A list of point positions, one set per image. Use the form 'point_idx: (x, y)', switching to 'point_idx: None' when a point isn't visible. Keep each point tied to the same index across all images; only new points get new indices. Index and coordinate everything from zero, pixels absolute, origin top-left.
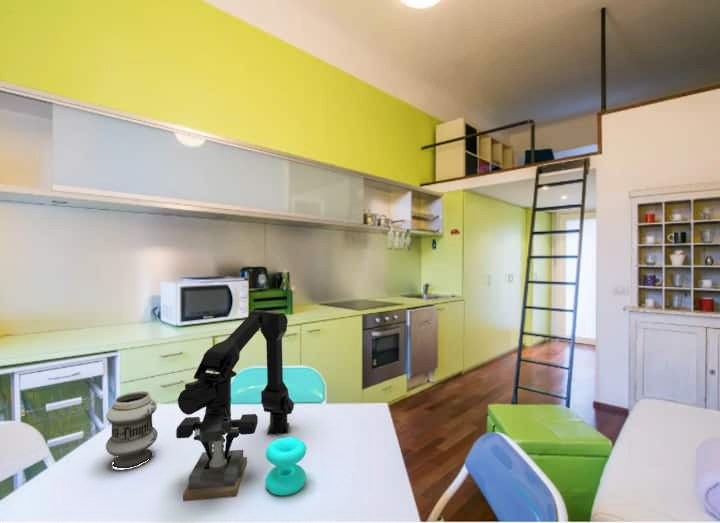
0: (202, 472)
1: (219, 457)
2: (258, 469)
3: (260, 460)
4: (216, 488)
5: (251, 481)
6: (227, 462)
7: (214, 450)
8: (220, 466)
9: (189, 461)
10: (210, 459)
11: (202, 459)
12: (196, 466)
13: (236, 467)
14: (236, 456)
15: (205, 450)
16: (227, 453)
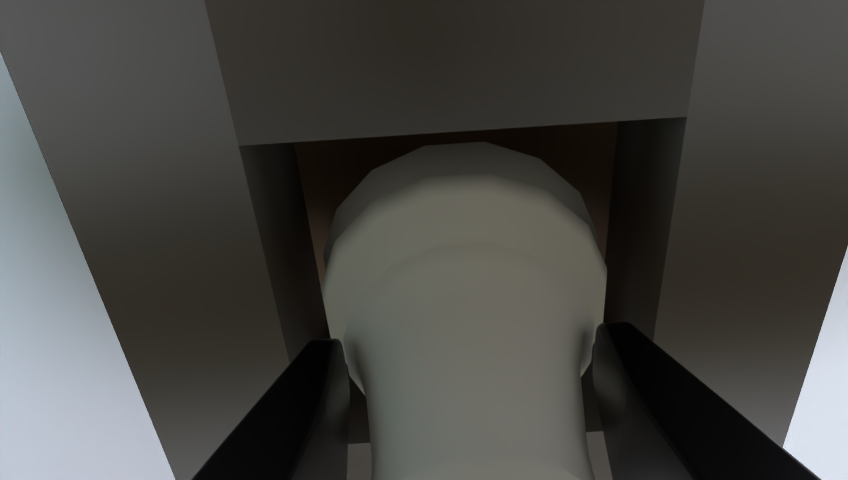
0: (685, 23)
1: (422, 335)
2: (50, 321)
3: (110, 443)
4: None
5: (7, 120)
6: None
7: (559, 465)
8: (386, 205)
9: (832, 454)
10: (607, 327)
11: (743, 380)
12: (824, 218)
13: (55, 154)
14: (224, 423)
15: (801, 464)
16: (257, 409)
